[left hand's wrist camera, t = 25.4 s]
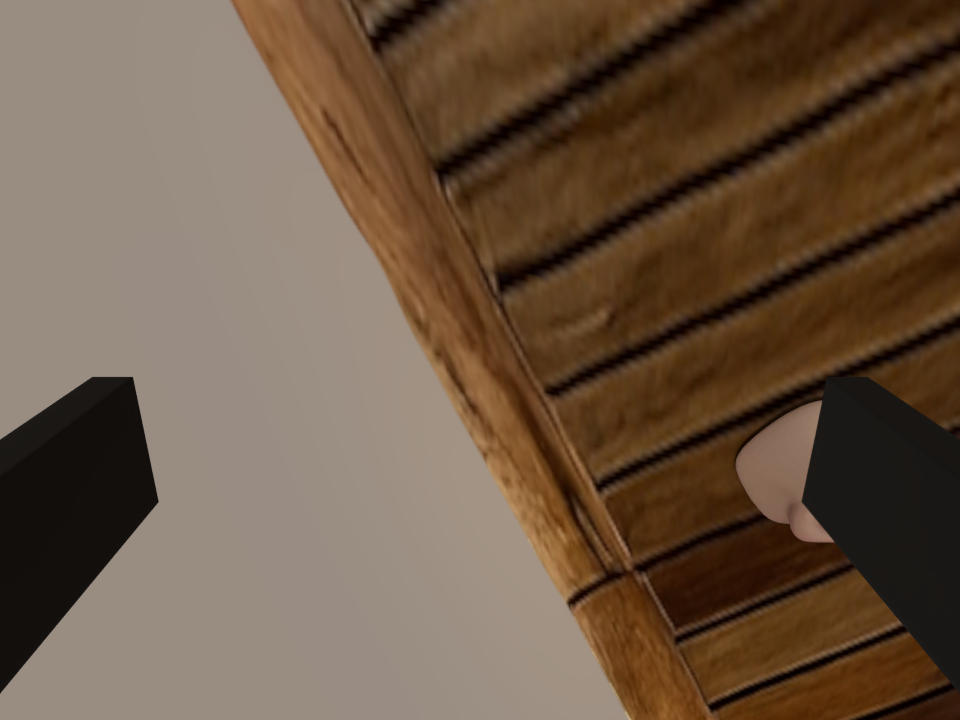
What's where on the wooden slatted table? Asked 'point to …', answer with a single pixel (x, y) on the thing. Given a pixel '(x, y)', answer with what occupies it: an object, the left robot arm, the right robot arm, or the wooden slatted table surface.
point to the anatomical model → (783, 470)
